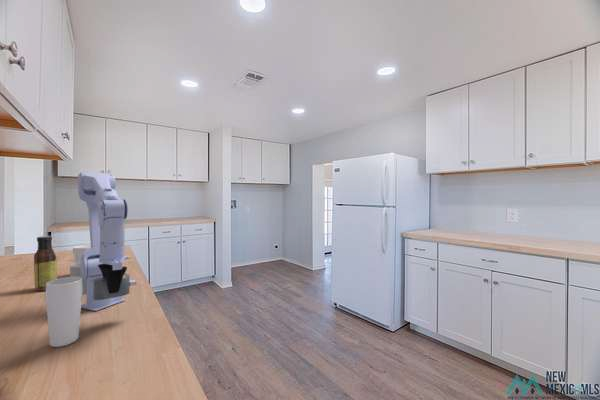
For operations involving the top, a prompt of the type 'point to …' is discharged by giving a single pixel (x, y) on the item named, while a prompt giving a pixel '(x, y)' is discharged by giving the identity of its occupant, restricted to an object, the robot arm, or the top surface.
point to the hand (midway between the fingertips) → (112, 290)
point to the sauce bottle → (44, 263)
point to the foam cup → (80, 251)
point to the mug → (78, 274)
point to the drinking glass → (64, 309)
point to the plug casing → (102, 290)
